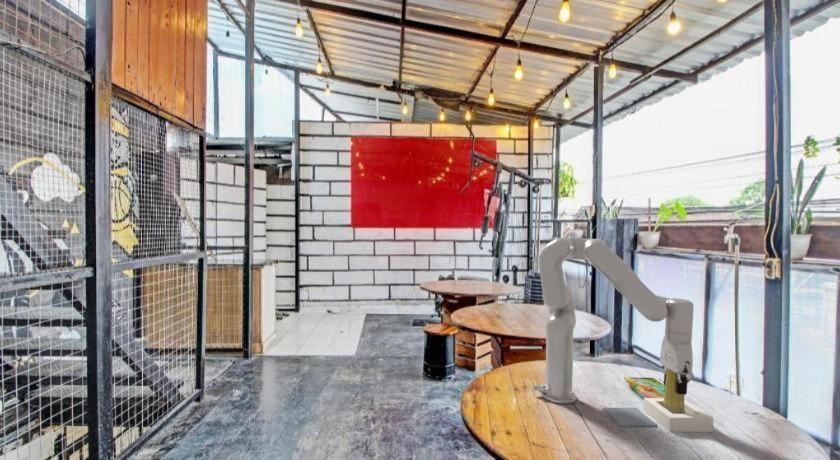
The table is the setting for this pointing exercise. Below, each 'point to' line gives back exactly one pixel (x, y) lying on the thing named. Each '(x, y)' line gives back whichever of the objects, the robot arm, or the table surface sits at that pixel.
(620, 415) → the mat
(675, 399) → the vase
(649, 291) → the robot arm
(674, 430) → the well board
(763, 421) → the table surface
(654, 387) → the puzzle game
